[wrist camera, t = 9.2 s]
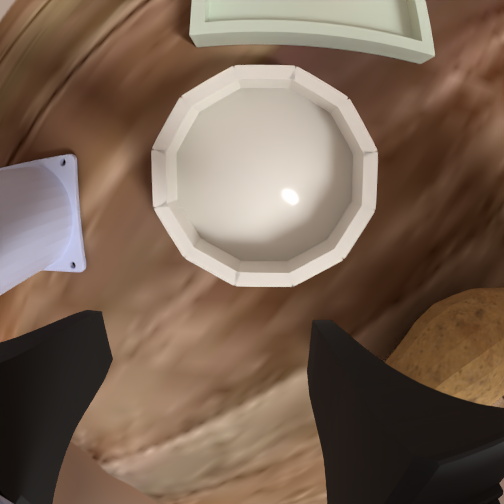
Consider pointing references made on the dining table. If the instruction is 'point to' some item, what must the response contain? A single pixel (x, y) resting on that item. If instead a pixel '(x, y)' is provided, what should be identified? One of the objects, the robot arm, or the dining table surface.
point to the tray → (317, 25)
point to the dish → (264, 175)
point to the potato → (458, 346)
